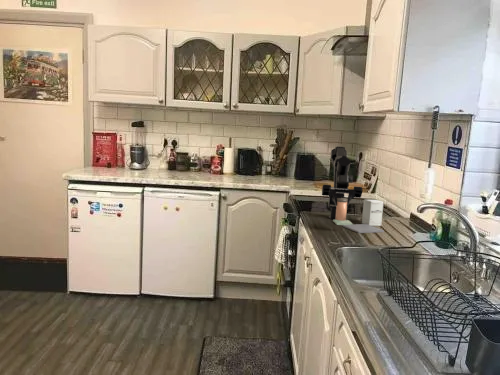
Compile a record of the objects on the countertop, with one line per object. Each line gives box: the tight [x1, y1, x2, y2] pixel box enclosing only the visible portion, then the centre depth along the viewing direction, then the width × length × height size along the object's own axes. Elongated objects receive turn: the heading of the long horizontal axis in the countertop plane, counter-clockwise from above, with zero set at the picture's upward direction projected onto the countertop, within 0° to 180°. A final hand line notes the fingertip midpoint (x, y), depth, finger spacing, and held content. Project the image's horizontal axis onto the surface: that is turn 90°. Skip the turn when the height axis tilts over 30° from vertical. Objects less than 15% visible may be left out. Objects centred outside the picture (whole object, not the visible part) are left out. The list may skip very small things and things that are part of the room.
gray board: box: [342, 223, 385, 234], centre depth 214 cm, size 14×14×1 cm
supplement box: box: [361, 199, 384, 227], centre depth 225 cm, size 7×7×13 cm
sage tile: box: [332, 219, 354, 226], centre depth 226 cm, size 8×8×1 cm
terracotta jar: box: [335, 197, 348, 221], centre depth 206 cm, size 5×5×10 cm
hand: (341, 205), depth 205 cm, fingers closed on terracotta jar, 5 cm apart
